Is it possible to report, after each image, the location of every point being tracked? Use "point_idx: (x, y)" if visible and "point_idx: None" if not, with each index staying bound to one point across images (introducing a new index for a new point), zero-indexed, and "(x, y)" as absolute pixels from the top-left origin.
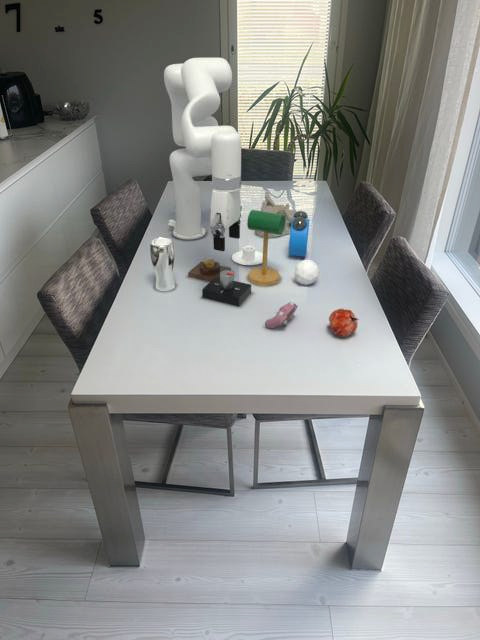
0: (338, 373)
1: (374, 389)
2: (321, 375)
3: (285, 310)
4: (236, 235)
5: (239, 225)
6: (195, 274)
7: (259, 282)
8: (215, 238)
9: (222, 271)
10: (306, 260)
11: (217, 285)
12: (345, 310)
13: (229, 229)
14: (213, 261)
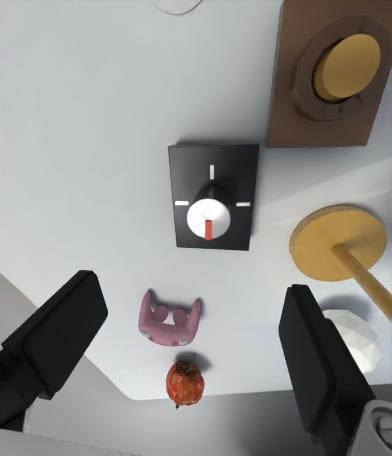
0: (117, 362)
1: (116, 382)
2: (104, 351)
3: (153, 339)
4: (284, 339)
5: (321, 445)
6: (279, 41)
7: (292, 247)
8: (5, 351)
9: (213, 202)
10: (364, 366)
11: (208, 176)
12: (183, 404)
13: (308, 336)
14: (348, 89)
